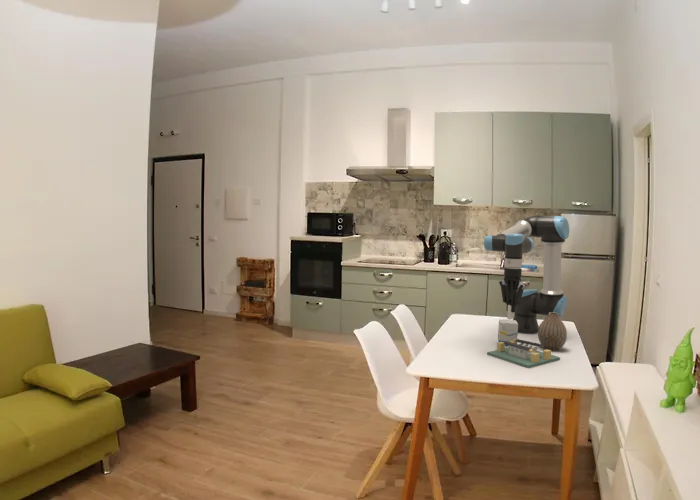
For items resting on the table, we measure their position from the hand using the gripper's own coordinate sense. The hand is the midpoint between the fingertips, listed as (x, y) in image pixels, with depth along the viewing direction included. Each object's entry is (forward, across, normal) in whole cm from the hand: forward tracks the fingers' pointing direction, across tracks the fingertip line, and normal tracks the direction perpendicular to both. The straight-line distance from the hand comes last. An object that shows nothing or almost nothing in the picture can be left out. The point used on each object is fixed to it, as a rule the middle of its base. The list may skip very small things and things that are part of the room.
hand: (510, 318), depth 220 cm
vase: (+18, +3, +29) cm, 34 cm away
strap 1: (+12, +5, 0) cm, 13 cm away
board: (+17, +5, +4) cm, 18 cm away
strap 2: (+12, +5, +8) cm, 15 cm away
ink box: (+18, -13, +16) cm, 27 cm away
